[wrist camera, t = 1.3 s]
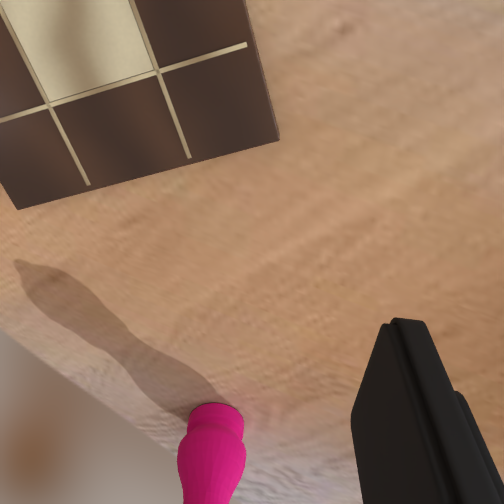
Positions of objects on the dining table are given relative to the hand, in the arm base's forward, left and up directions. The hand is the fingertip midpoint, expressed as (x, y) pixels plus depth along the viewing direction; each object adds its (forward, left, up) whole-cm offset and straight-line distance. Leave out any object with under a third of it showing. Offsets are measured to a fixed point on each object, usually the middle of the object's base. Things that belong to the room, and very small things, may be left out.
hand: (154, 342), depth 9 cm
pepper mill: (+13, +34, -27) cm, 46 cm away
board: (+9, -7, -27) cm, 29 cm away
